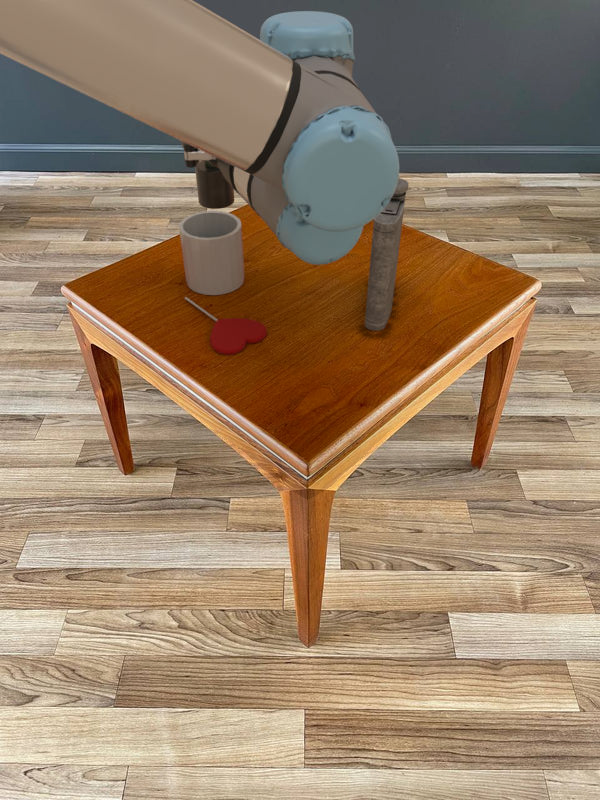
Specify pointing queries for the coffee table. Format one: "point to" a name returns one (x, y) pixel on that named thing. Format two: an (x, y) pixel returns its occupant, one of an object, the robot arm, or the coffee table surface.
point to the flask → (385, 259)
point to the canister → (212, 252)
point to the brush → (212, 187)
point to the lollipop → (233, 333)
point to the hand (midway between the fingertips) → (195, 102)
